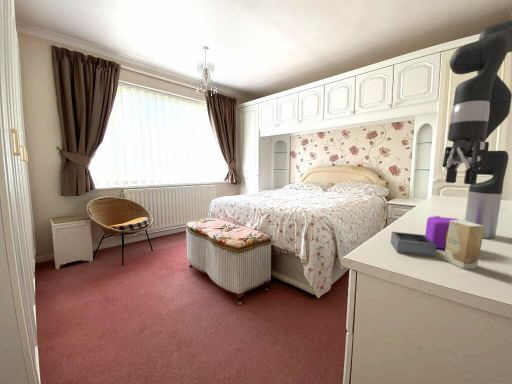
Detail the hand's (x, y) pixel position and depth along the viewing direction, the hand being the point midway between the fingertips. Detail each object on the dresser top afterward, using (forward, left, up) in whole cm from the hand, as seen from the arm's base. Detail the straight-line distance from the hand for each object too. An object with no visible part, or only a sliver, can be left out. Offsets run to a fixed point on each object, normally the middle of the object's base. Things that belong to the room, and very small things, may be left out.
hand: (459, 183), depth 62 cm
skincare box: (-1, +3, -23) cm, 23 cm away
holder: (-9, -7, -23) cm, 26 cm away
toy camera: (-17, +6, -23) cm, 29 cm away
